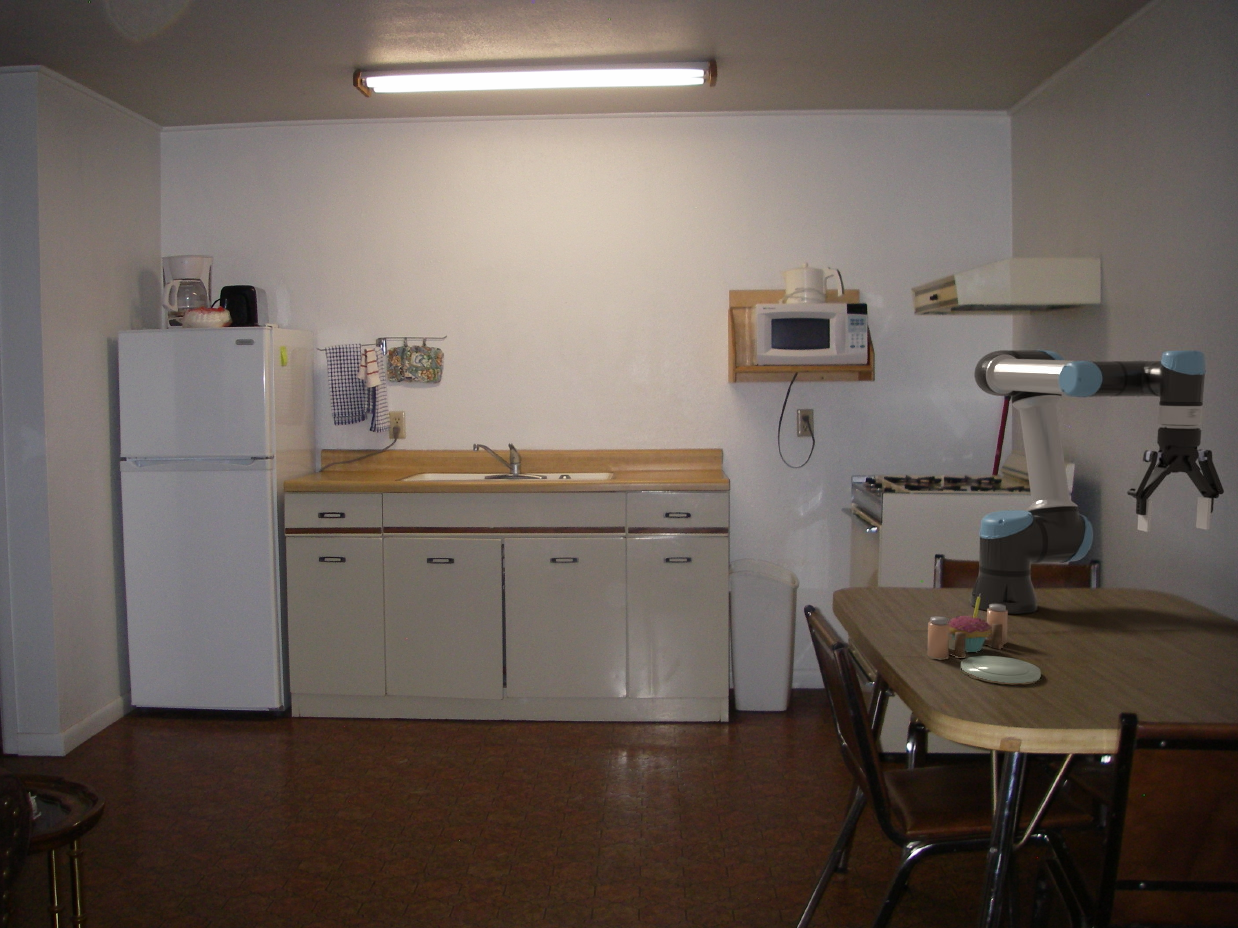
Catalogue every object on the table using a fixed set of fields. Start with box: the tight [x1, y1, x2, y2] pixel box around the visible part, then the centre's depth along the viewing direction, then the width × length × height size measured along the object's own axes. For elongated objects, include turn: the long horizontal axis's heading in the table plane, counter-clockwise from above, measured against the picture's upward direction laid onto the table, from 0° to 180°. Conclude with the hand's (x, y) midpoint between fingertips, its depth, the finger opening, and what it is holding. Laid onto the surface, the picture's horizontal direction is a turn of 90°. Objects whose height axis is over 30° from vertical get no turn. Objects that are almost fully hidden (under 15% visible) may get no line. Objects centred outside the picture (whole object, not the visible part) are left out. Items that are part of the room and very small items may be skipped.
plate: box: [960, 655, 1042, 683], centre depth 171 cm, size 14×14×1 cm
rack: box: [949, 623, 1004, 657], centre depth 186 cm, size 7×14×5 cm, turn 122°
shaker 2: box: [985, 604, 1009, 646], centre depth 191 cm, size 4×4×8 cm
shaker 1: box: [926, 616, 950, 658], centre depth 181 cm, size 4×4×8 cm
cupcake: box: [947, 594, 991, 653], centre depth 186 cm, size 9×8×12 cm
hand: (1173, 529), depth 186 cm, fingers open, 13 cm apart
